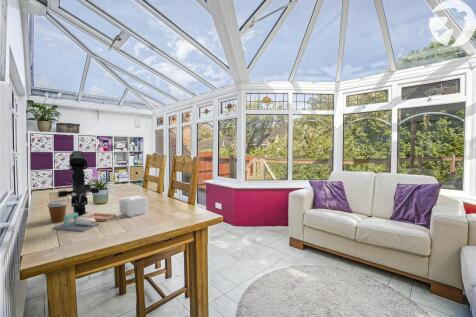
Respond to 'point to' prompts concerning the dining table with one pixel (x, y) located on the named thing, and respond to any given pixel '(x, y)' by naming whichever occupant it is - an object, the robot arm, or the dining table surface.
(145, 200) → the cable organizer
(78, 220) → the white bottle
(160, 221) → the dining table surface
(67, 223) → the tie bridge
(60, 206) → the disposable coffee cup
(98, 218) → the tray
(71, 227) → the board
